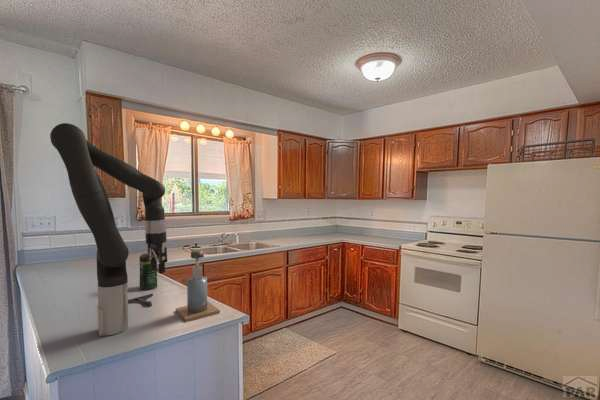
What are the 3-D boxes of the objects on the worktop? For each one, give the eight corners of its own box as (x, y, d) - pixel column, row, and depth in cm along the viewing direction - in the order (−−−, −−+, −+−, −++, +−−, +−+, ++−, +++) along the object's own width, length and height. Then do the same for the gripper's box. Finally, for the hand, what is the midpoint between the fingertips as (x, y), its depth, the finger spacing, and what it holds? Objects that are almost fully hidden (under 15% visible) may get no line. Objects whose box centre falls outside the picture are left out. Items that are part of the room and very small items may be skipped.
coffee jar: (159, 288, 155) (159, 254, 155) (143, 291, 150) (143, 256, 150) (153, 284, 162) (153, 251, 162) (137, 287, 157) (137, 253, 157)
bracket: (133, 313, 124) (133, 306, 124) (119, 305, 133) (119, 299, 133) (166, 303, 135) (166, 297, 135) (151, 296, 144) (151, 291, 144)
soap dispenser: (185, 322, 113) (185, 273, 113) (175, 311, 124) (175, 266, 124) (219, 312, 122) (219, 267, 122) (207, 303, 133) (207, 262, 133)
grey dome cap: (196, 272, 117) (196, 254, 116) (189, 268, 123) (189, 251, 123) (208, 270, 120) (208, 252, 120) (200, 266, 126) (200, 250, 126)
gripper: (139, 231, 118) (141, 270, 118) (152, 234, 108) (154, 276, 109) (158, 228, 123) (160, 266, 124) (172, 231, 113) (174, 272, 114)
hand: (157, 271), depth 116 cm, fingers open, 8 cm apart
